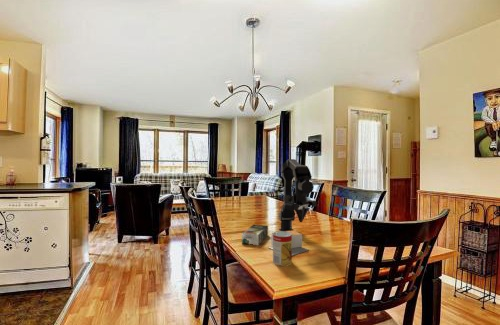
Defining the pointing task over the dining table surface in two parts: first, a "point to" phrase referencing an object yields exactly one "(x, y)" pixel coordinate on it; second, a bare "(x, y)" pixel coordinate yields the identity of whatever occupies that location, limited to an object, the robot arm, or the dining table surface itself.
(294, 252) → the mat
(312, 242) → the dining table surface
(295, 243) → the small box
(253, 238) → the juice carton
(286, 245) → the canned food
